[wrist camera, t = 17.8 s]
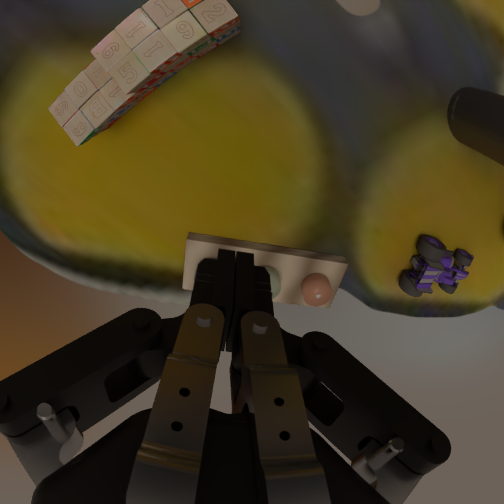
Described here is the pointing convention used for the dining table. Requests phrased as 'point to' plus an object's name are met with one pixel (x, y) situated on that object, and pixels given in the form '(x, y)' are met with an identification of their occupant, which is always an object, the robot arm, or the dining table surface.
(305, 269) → the button board
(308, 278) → the button
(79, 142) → the stack of blocks
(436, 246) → the toy race car
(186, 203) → the dining table surface
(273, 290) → the button
